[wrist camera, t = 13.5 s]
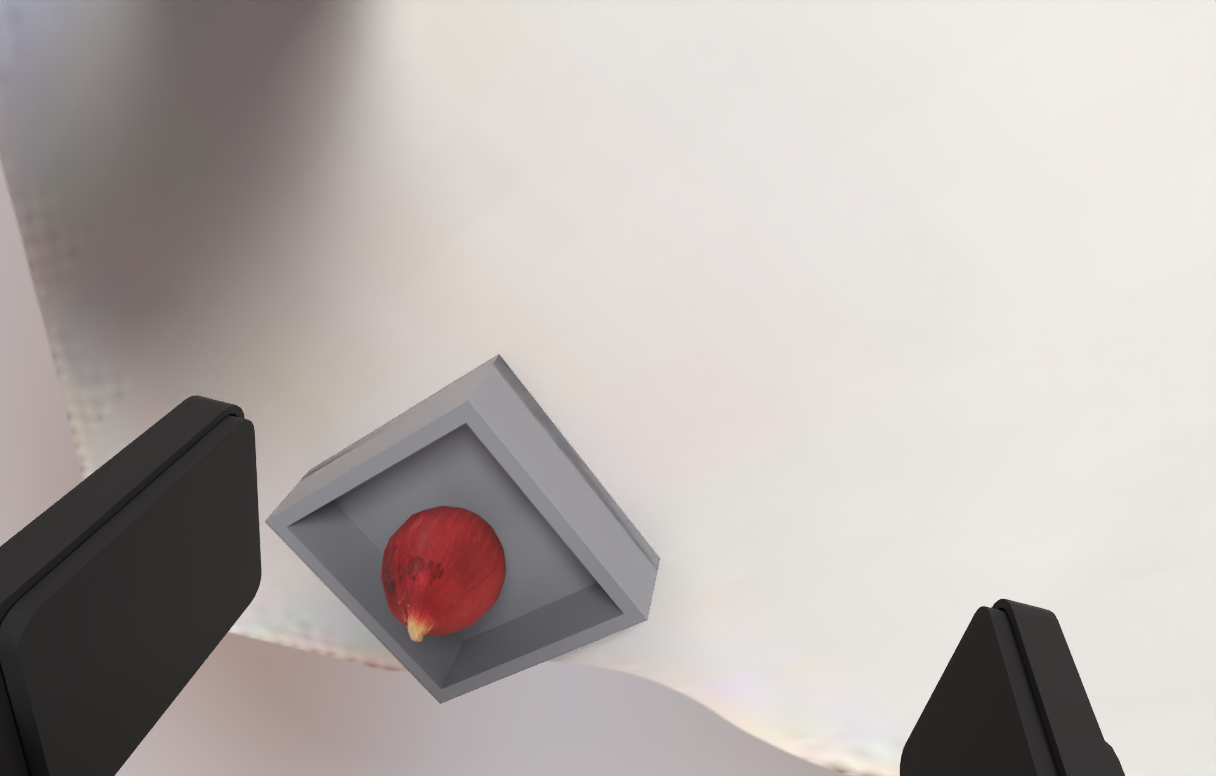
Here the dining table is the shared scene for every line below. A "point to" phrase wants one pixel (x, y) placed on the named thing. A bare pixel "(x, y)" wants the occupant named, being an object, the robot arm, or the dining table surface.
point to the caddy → (507, 500)
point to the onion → (442, 571)
